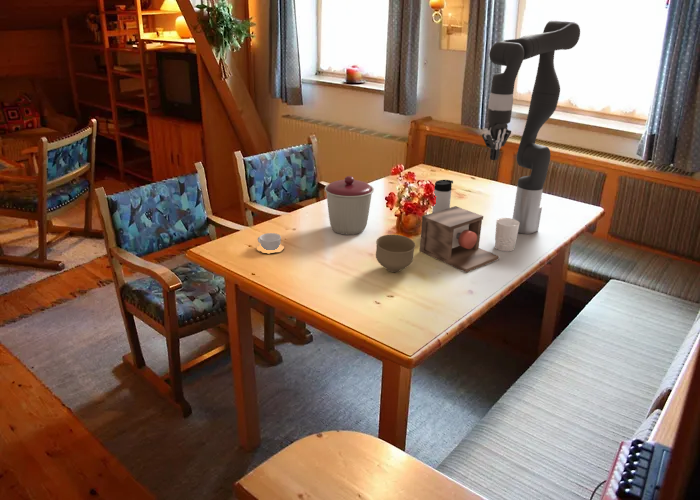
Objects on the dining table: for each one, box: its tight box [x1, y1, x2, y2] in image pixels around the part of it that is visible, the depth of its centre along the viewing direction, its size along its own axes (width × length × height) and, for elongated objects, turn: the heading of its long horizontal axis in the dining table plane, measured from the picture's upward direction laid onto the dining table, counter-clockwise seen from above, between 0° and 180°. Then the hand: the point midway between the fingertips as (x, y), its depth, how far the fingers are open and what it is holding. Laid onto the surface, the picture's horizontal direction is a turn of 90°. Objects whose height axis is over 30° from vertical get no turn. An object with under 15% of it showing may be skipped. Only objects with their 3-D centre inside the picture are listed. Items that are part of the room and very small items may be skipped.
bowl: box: [375, 234, 416, 273], centre depth 187 cm, size 13×13×10 cm
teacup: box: [257, 232, 282, 250], centre depth 201 cm, size 10×10×5 cm
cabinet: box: [419, 206, 500, 273], centre depth 198 cm, size 21×17×13 cm
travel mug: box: [431, 179, 454, 213], centre depth 217 cm, size 6×7×20 cm
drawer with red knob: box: [452, 224, 477, 249], centre depth 199 cm, size 12×10×8 cm
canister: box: [324, 175, 375, 235], centre depth 216 cm, size 18×18×21 cm
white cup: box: [494, 217, 520, 252], centre depth 205 cm, size 8×8×10 cm
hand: (493, 159), depth 195 cm, fingers closed
